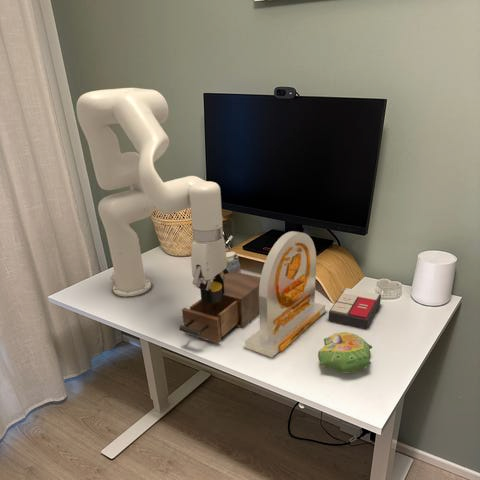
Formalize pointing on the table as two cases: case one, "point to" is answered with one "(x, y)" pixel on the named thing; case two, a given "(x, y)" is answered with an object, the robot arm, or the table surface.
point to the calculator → (355, 308)
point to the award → (286, 294)
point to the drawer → (211, 319)
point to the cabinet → (243, 294)
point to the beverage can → (232, 263)
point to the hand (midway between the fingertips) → (213, 296)
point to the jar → (216, 291)
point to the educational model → (345, 353)
